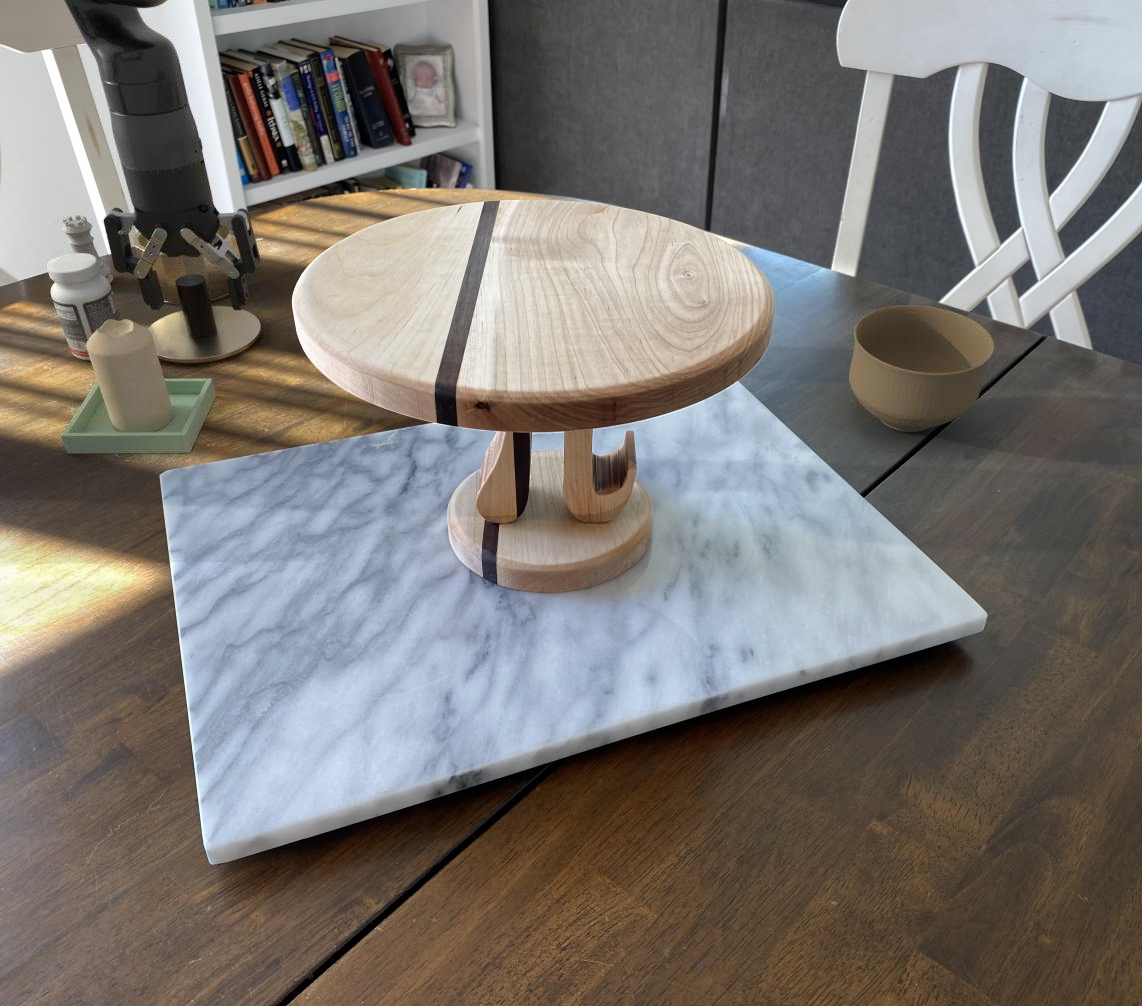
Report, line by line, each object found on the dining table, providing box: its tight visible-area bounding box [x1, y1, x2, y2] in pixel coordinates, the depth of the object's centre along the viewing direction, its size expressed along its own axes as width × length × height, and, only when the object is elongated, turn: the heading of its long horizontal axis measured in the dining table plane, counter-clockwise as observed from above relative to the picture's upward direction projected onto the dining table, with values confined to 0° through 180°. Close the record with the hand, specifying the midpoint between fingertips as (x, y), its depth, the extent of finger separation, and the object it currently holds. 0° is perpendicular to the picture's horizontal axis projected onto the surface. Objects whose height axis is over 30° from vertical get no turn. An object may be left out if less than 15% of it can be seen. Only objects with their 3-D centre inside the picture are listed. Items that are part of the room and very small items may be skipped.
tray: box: [60, 378, 217, 455], centre depth 89 cm, size 11×10×2 cm
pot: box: [132, 226, 241, 306], centre depth 111 cm, size 11×11×6 cm
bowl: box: [848, 304, 996, 433], centre depth 91 cm, size 13×13×10 cm
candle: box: [86, 318, 173, 433], centre depth 86 cm, size 6×6×10 cm
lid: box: [146, 274, 262, 364], centre depth 100 cm, size 12×12×7 cm
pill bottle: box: [46, 252, 122, 361], centre depth 97 cm, size 6×6×10 cm
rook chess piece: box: [61, 214, 114, 285], centre depth 110 cm, size 4×4×8 cm
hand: (199, 307), depth 100 cm, fingers open, 8 cm apart
